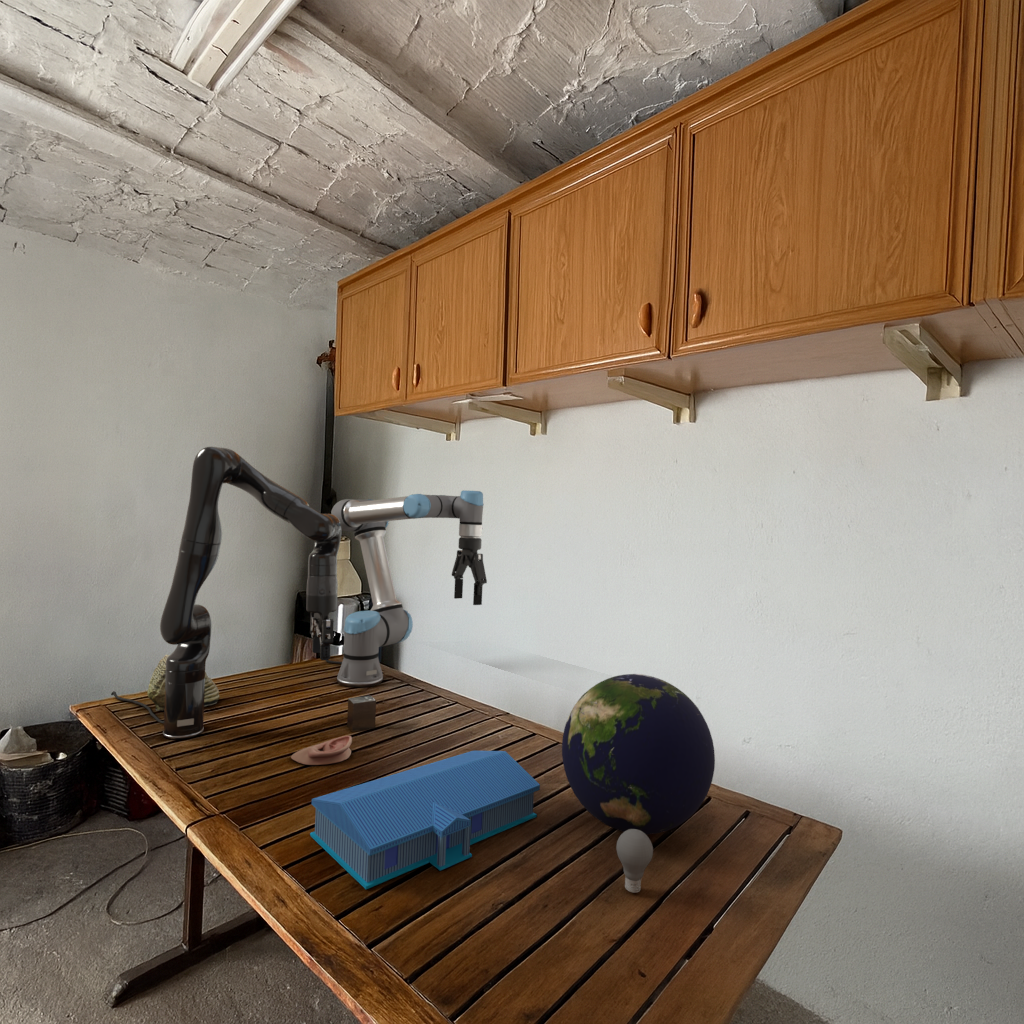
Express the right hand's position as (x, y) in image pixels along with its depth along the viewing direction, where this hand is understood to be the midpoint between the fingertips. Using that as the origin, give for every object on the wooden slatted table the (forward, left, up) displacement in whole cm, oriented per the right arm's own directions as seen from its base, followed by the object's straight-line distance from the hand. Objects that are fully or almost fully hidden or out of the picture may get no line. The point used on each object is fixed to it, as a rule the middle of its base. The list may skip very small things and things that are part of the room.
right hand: (467, 601), depth 209 cm
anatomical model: (+47, -43, -30) cm, 70 cm away
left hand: (+39, -44, -8) cm, 60 cm away
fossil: (+5, -84, -30) cm, 89 cm away
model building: (+85, -20, -30) cm, 92 cm away
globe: (+90, +19, -30) cm, 97 cm away
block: (+28, -33, -30) cm, 53 cm away
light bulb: (+110, +10, -30) cm, 114 cm away
